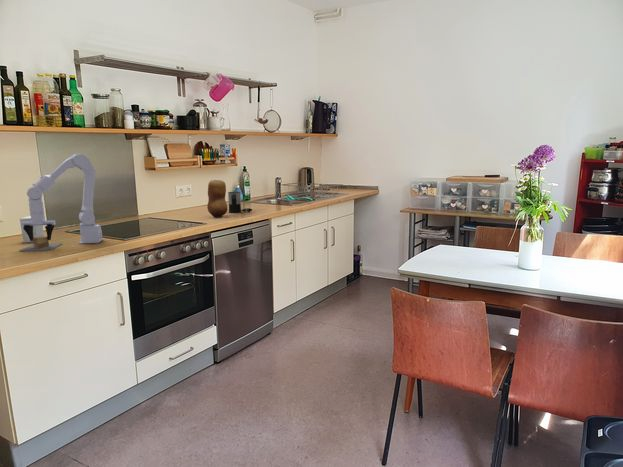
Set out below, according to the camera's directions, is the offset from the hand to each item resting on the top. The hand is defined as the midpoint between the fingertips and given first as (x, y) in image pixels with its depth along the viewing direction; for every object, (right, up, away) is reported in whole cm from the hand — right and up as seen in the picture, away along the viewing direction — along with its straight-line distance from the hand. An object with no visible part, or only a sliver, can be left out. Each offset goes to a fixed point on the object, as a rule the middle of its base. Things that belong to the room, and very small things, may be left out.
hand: (40, 240), depth 219 cm
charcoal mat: (0, -4, +1) cm, 4 cm away
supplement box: (-14, -1, +17) cm, 22 cm away
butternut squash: (+66, +14, +90) cm, 112 cm away
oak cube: (0, -3, +1) cm, 3 cm away
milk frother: (+78, +18, +111) cm, 137 cm away
